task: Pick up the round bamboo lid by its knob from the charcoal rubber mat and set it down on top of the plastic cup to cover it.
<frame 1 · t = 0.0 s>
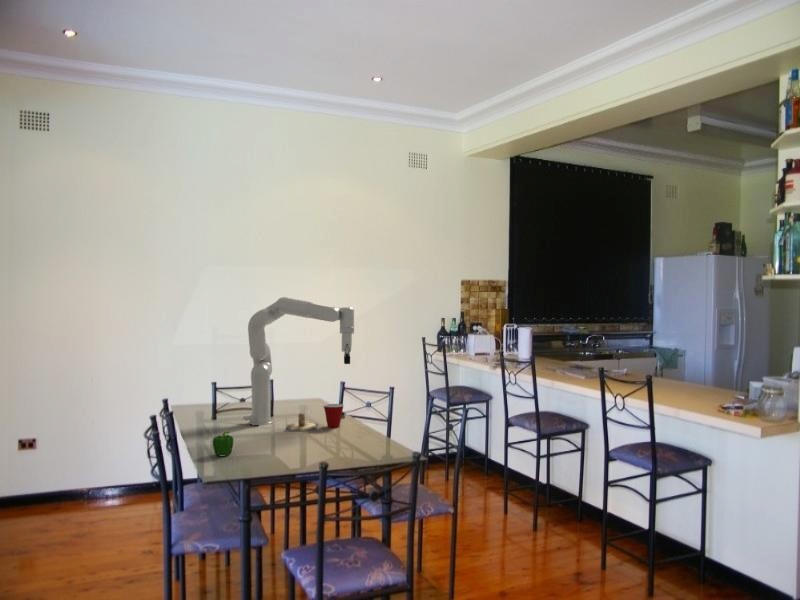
hand: (347, 362, 321), 31 cm above the table, tool pointing down, fingers open, 9 cm apart
mat: (301, 428, 304), on the table
plastic cup: (333, 428, 307), on the table
bell pepper: (223, 455, 257), on the table
lid: (301, 427, 304), point 1 cm above the table, touching mat
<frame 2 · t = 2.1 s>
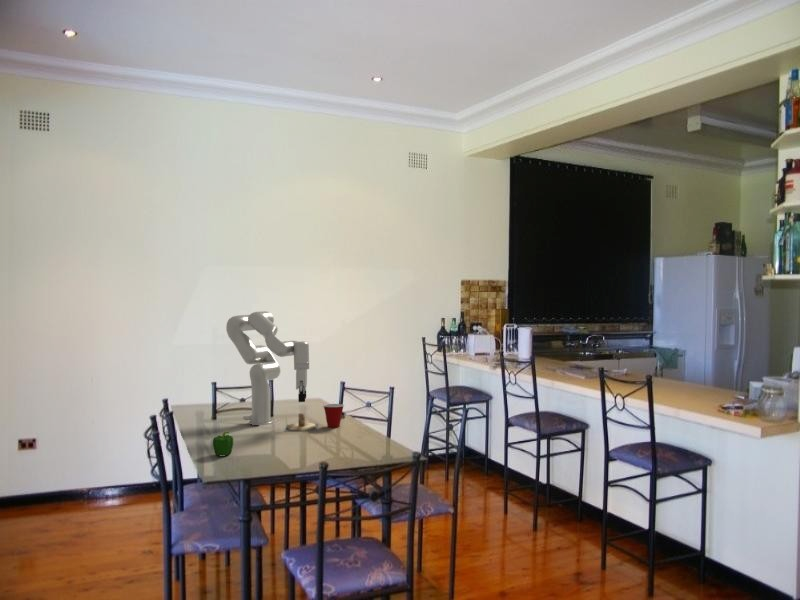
hand: (302, 400, 304), 15 cm above the table, tool pointing down, fingers open, 9 cm apart
nothing on the table moved.
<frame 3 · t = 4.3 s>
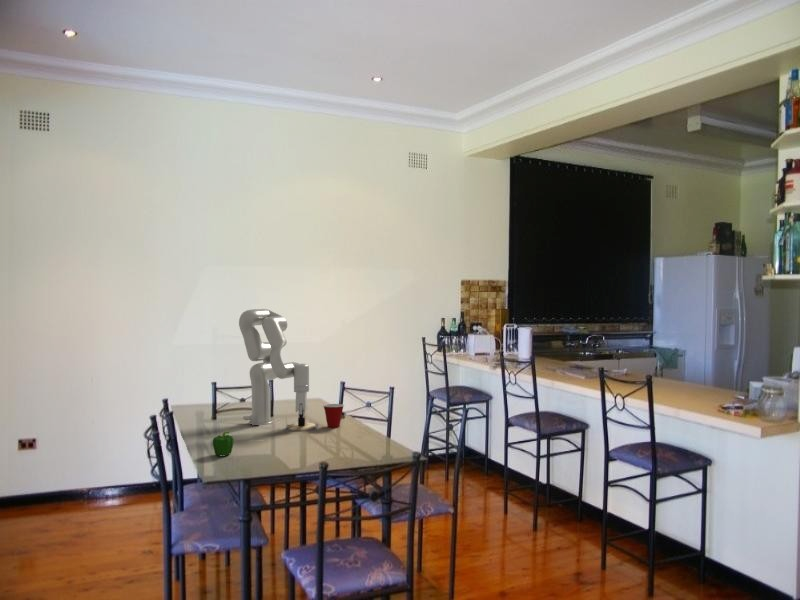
hand: (301, 424, 304), 2 cm above the table, tool pointing down, fingers closed on lid, 3 cm apart
lid: (301, 427, 304), point 1 cm above the table, touching gripper, mat
everything else where it was.
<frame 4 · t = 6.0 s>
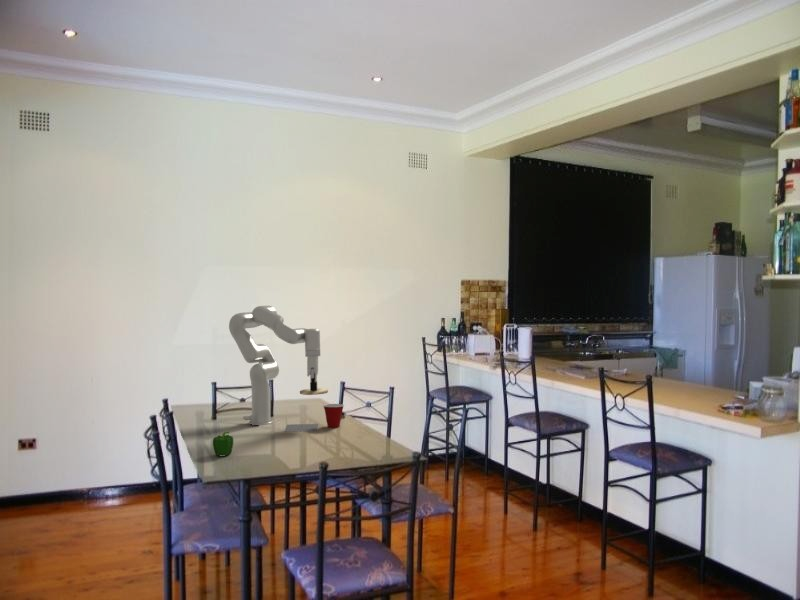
hand: (313, 389, 304), 20 cm above the table, tool pointing down, fingers closed on lid, 3 cm apart
lid: (313, 392, 304), point 18 cm above the table, touching gripper
everything else where it was.
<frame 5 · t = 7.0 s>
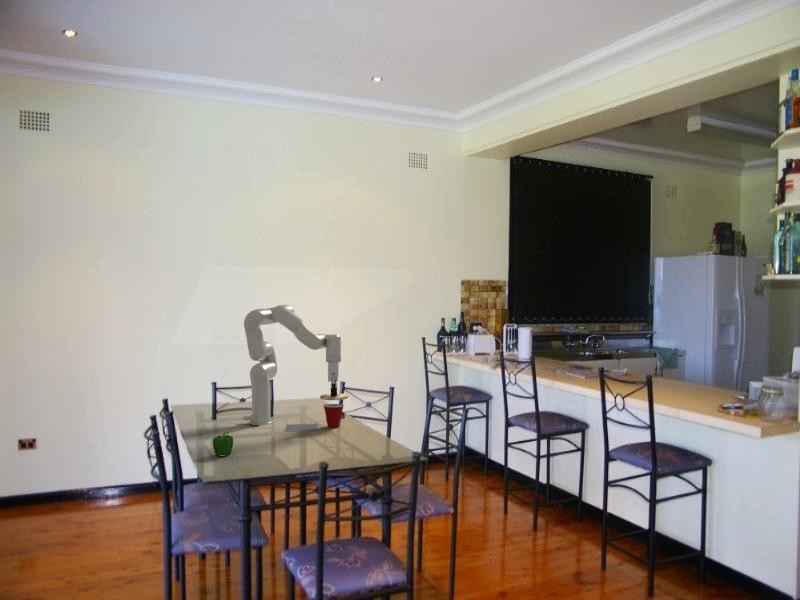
hand: (333, 394, 306), 17 cm above the table, tool pointing down, fingers closed on lid, 3 cm apart
lid: (334, 397, 306), point 15 cm above the table, touching gripper
everything else where it was.
when the fingers open (15 cm above the table, at t = 7.9 s): lid drops 2 cm, resting on plastic cup.
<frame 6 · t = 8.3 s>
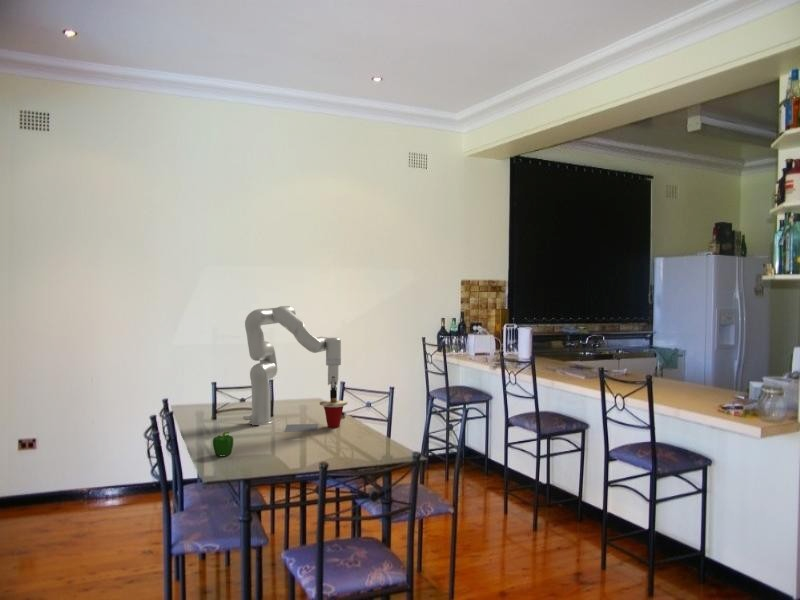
hand: (333, 396, 306), 16 cm above the table, tool pointing down, fingers open, 8 cm apart
plastic cup: (333, 428, 307), on the table, touching lid
lid: (333, 404, 306), point 12 cm above the table, touching plastic cup
everything else where it was.
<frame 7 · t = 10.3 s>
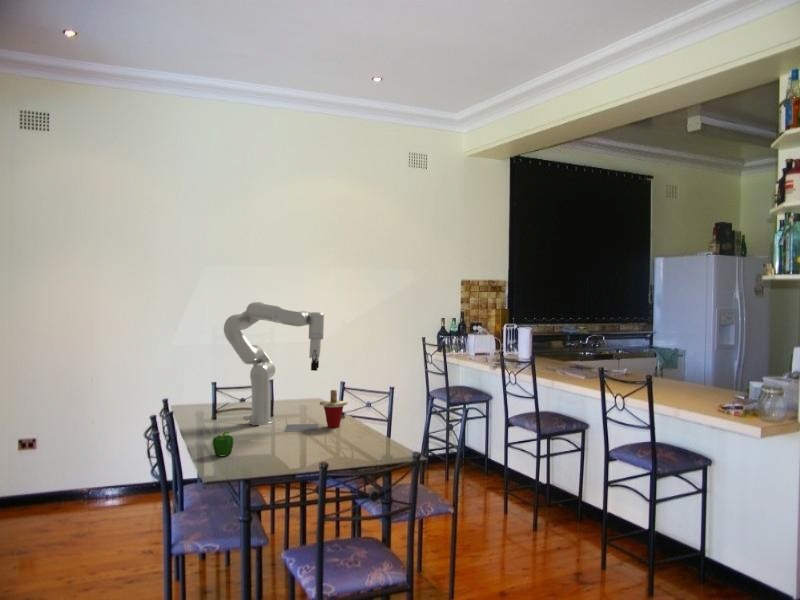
hand: (314, 369, 313), 29 cm above the table, tool pointing down, fingers open, 9 cm apart
nothing on the table moved.
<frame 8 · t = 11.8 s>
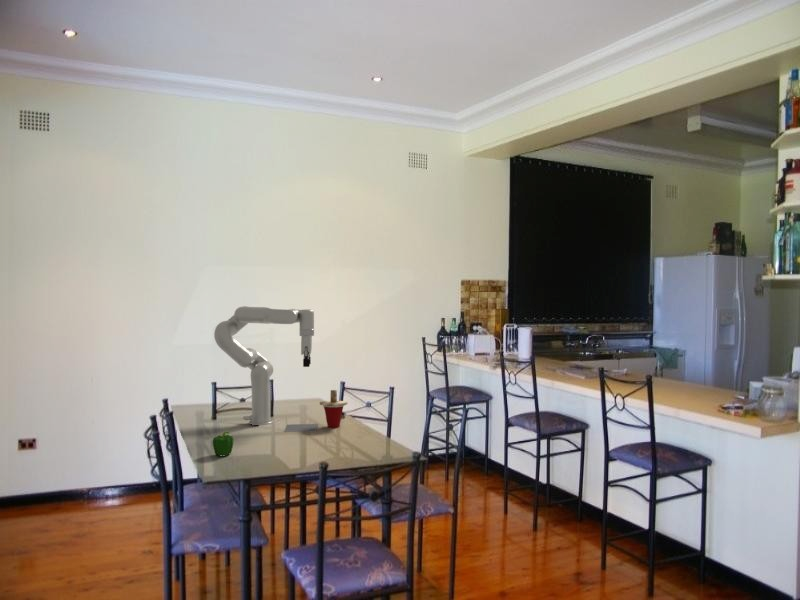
hand: (306, 365, 317), 30 cm above the table, tool pointing down, fingers open, 9 cm apart
nothing on the table moved.
at the end: lid inside the target area on the plastic cup (0.1 cm from its centre), point 12.2 cm above the plastic cup's base; plastic cup tilted 0°; lid touching plastic cup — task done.
